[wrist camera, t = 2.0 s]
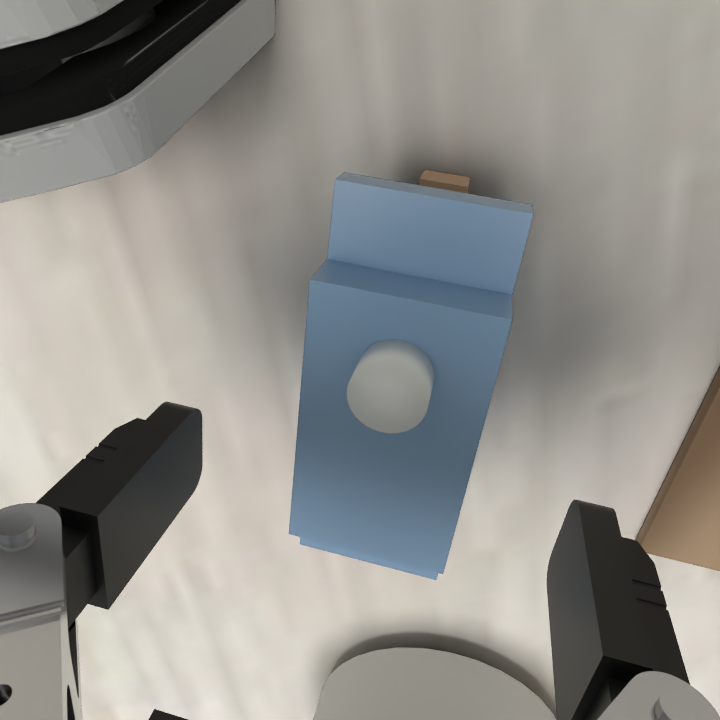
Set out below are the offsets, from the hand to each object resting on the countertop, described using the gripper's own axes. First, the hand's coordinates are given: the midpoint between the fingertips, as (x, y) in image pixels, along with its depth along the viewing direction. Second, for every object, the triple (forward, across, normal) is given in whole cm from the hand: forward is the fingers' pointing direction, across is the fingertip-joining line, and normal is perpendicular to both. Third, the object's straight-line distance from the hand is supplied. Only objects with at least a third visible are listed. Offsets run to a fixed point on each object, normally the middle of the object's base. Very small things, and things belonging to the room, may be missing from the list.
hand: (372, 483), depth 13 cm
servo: (+7, 0, -1) cm, 7 cm away
